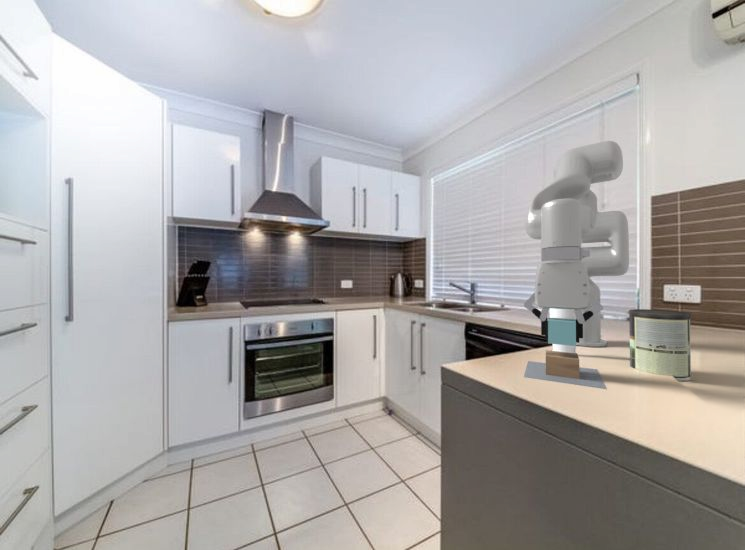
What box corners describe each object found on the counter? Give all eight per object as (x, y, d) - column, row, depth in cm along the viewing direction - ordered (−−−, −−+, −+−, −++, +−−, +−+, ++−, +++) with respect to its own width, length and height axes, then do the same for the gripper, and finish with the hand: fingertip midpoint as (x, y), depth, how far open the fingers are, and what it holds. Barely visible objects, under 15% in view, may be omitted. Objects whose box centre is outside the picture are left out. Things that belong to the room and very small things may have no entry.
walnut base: (546, 367, 71) (546, 350, 71) (577, 371, 68) (577, 353, 68) (545, 374, 65) (545, 356, 66) (579, 379, 62) (579, 359, 62)
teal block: (548, 339, 70) (548, 317, 70) (574, 341, 67) (574, 319, 67) (548, 343, 66) (547, 320, 66) (576, 346, 63) (575, 321, 63)
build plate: (528, 364, 76) (528, 360, 76) (597, 373, 69) (597, 369, 69) (523, 381, 64) (523, 376, 64) (607, 394, 57) (606, 389, 57)
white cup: (544, 355, 86) (543, 301, 86) (559, 352, 89) (559, 300, 89) (568, 360, 80) (568, 303, 80) (584, 357, 82) (583, 302, 83)
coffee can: (618, 366, 75) (617, 309, 75) (664, 367, 74) (663, 309, 74) (652, 380, 64) (652, 314, 64) (706, 382, 63) (705, 314, 63)
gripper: (606, 256, 66) (607, 341, 65) (519, 259, 74) (519, 333, 74) (612, 254, 59) (613, 348, 59) (516, 257, 68) (516, 339, 68)
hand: (561, 339), depth 66 cm, fingers closed on teal block, 5 cm apart
